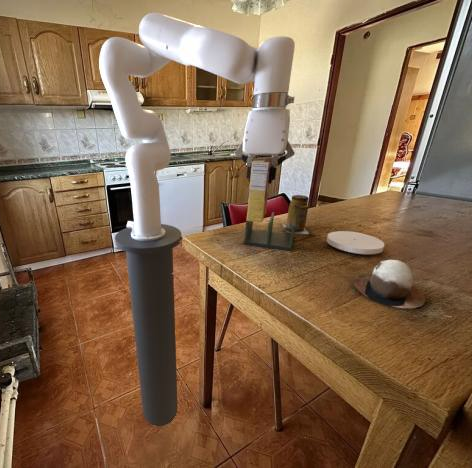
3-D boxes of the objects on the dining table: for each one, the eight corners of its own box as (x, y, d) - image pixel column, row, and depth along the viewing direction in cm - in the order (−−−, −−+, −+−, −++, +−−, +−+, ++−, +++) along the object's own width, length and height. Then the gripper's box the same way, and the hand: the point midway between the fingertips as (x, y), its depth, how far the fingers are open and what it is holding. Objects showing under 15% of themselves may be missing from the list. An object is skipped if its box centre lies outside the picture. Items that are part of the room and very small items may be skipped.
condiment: (303, 226, 95) (308, 194, 91) (309, 234, 88) (315, 200, 83) (282, 225, 97) (286, 194, 93) (286, 233, 89) (291, 199, 85)
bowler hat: (353, 266, 64) (398, 245, 57) (385, 301, 62) (435, 284, 55) (344, 285, 56) (396, 264, 49) (380, 327, 54) (439, 310, 47)
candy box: (250, 211, 75) (257, 157, 69) (266, 213, 73) (274, 158, 67) (244, 220, 67) (251, 160, 62) (262, 223, 66) (270, 161, 60)
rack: (244, 244, 82) (246, 220, 79) (250, 231, 92) (252, 210, 89) (291, 250, 76) (295, 225, 74) (292, 236, 86) (296, 214, 84)
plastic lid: (385, 261, 68) (387, 253, 67) (324, 251, 76) (326, 243, 75) (379, 243, 79) (381, 235, 78) (327, 235, 86) (328, 228, 85)
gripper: (309, 102, 59) (296, 181, 66) (236, 106, 66) (231, 177, 73) (310, 99, 53) (295, 187, 60) (229, 104, 60) (224, 182, 67)
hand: (260, 181), depth 67 cm, fingers closed on candy box, 4 cm apart
